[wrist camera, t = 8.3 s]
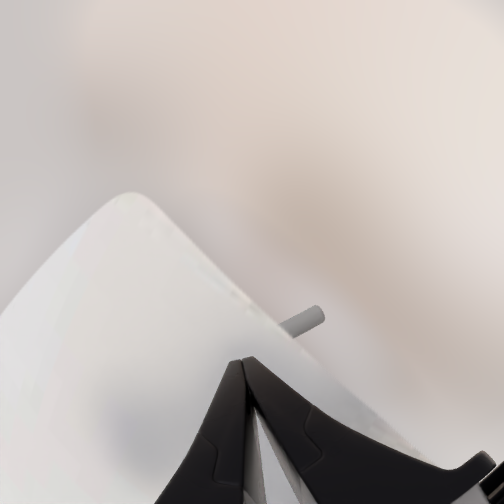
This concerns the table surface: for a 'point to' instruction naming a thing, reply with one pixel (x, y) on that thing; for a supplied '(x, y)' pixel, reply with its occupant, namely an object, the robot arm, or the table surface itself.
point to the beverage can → (303, 321)
